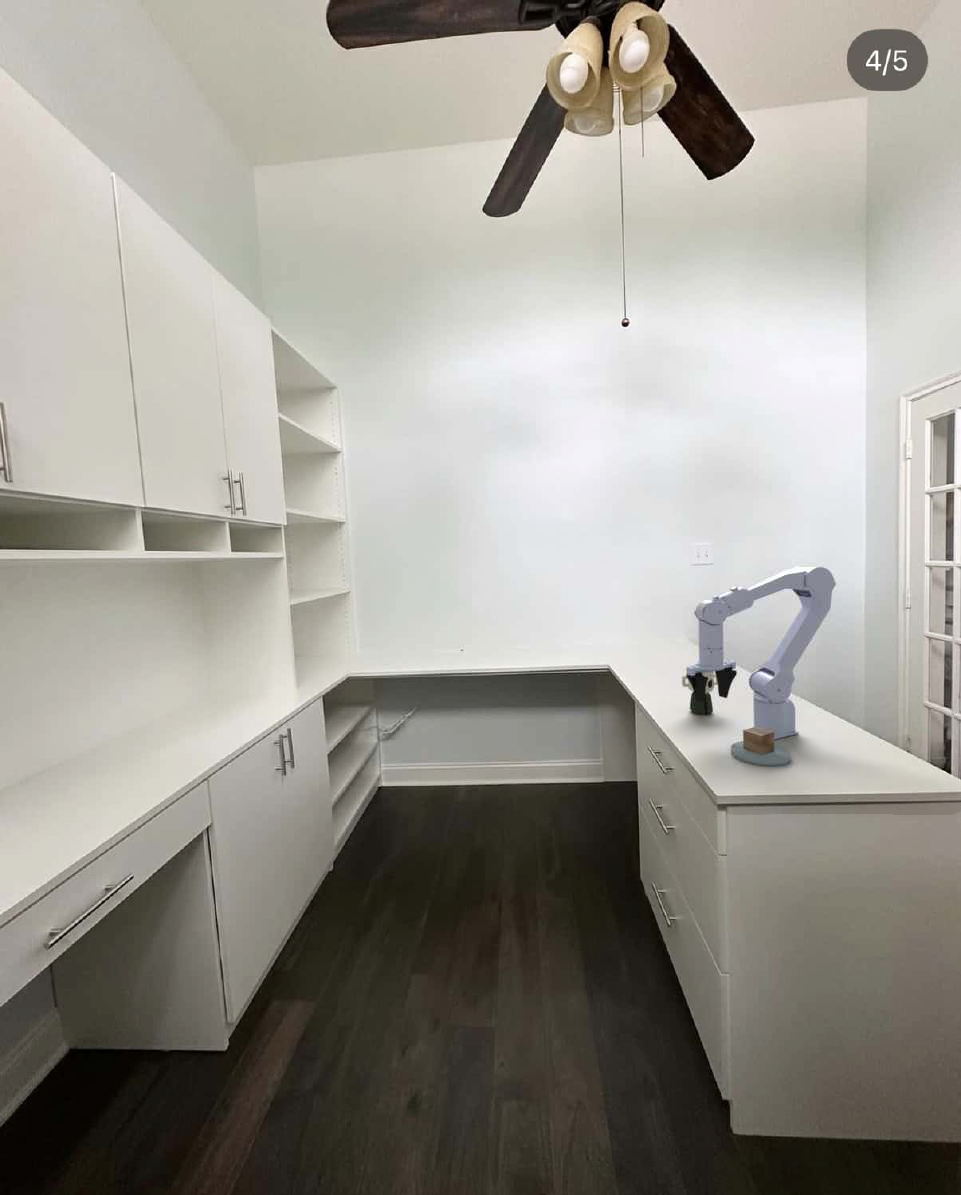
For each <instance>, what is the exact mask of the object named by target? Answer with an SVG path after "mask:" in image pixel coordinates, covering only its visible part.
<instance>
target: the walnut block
mask: <svg viewBox="0 0 961 1195" xmlns="http://www.w3.org/2000/svg"><path fill="white" fill-rule="evenodd" d="M752 727H753V728H751V727H748V728H749V729H746V728H745V729H743V730H742V733H743V734H742V736H743V738H742V741H743V749H745V750H748V751H751V752H754V753H756V754H759V755H764V754H767V753H770V752H773V751H774V744H775V739H774V732H772V731H769V730H766V729H763V728H760V727H754V726H752Z"/></svg>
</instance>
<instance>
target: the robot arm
mask: <svg viewBox="0 0 961 1195" xmlns="http://www.w3.org/2000/svg"><path fill="white" fill-rule="evenodd" d="M836 585H837V582H836V580H835V578H834V575H833V574H832V572H831V571H830V570H829V569H827V568H826V567H823V566H822V567H821V566H816V567H808V566H807V567H805V566H795V567H793V568H791V569H787V570H783V571H782V572H780V573H778V574H776V575H774V576H772V577H770V578H767V579H765V580H763V581H762V582H758V583H757V584H755V585H752V586H751V587H748V589H747V588H745V587H742V586H739V587H737V586H733V587H731V588H730V591H728V592H725V593H723V594H721V595H714V596H712V600H708V599H707V600H706V599H705V600H703V601H700V602H699V603H698V605H697V606H696V607H695V610H694V612H693V613H694V616H695V617H696V619H697V620H698V661H697V662H696V663H695V664H693V665H689V666H686V667H685V668H686V672H685V673H686V675H685V676H686V677H687V678H688V679H687V681H688V680H689V681H690V683H691V685H692V687H693V690H694V693H695V697H696V700H697V701H699V702H705V690H706V684H707V681H708V679H709V678H708V677H705V676H703V675H702V673H707V672H713V671H714V674H716V677H717V682H718V685H717V690H718V691H717V693H718V697H721V698H723V699H726V698H728V696H729V692H730V688H731V686H732V683H733V682H734V679H735V678H736V677H737V673H738V672H737V670H735V669H736V668H737V667H736V666H737V665H736V664H737V663H736V662H737V661H735V660H731V659H730V660H724V630H723V629H724V623H725V621H726V620H727V618H729V617H731V616H734V615H737V614H738V613H741V612H743V611H746V610H748V609H751V608H752V607H753V605H754V602H755V601H757V600H759V599H763V598H765V597H767V596H770V595H773V594H775V593H778V592H781V591H784V590H787V589H788V590H792V591H793V593H794V594H795V595H796V596H797V597H798V599H799V601H800V604H801V606H802V607H801V608H800V609H799V612H798V614H797V615H796V617H795V618H794V619H793V622H792V623H791V625H790V626H789V628H788V630H787V631H786V634H785V635H784V637H783V639H782V640H781V641H780V643H779V645H778V646H777V648H776V650H775V652H774V653H772V656H771V657H770V659H769V660H767V661H765V662H763V663H761V665H760V666H759V668H758V669H756V670H755V671H753V672H752V673H751V674H750V676H749V678H748V684H749V687H750V689H751V690H752V692H753V726H751V727H747V728H745V729H749V728H753V727H760V728H763V729H766V730H769V731H772V732H774V740H777V739H781V738H786V737H790V736H794V735H799V731H797V730H796V706H795V704H794V702H793V701H792V700H791V699H790V698H789V697H790V695H791V693H792V687H793V686H792V685H793V684H794V682H795V680H796V679H795V675H794V669H795V667H796V665H797V664H798V662H799V660H800V659H801V657H802V656H803V655H804V653H805V651H806V649H807V647H808V646H809V645H810V643H811V641H812V639H813V638H814V636H816V633H817V631H818V630H819V628H820V626H821V625H822V624H823V622H824V620H825V618H826V617H827V615H828V614H829V612H830V611H831V607H832V596H833V590H834V588H835V587H836ZM716 677H715V678H716Z"/></svg>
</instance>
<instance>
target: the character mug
mask: <svg viewBox="0 0 961 1195" xmlns="http://www.w3.org/2000/svg"><path fill="white" fill-rule="evenodd" d="M702 675H703V676H705V677H708V678H709V679H708V681H707V684H706V690H705V702H699V701H697V700H696V697H695V693H694V690H693V687H692V685H691V683H690V681H689V680H688V678H687V677H686V675H683V676H682V677H681V681H682V684H681V686H682V687H684V688H688V690H689V691H690V692H691V691H692V692H691V694H690V700H689V701H690V702H689V710H690V711H691V712H693V713H696V714H703V715H704V714H705V713H707V714H711V713H713V712H714V708H713V700H712V695H711V692H713V691H714V688H715V686H718V682H717V677H716V674H715V671H713V672H707V673H702ZM686 680H687V683H686Z"/></svg>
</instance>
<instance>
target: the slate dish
mask: <svg viewBox="0 0 961 1195" xmlns="http://www.w3.org/2000/svg"><path fill="white" fill-rule="evenodd" d="M730 753H732V754H731V755H732V756H733V755H734V756H735V757H736V758H735V757H734V756H733V757H734V758H735V759H737V760H739V759H740V760H739V761H741V760H742V761H741V762H743V761H744V763H747V764H750V763H751V765H754V764H755V765H756V766H761V767H781V766H786V765H788V764H790V762H791V760H792V759H791V756H792V755H791V752H790V751H789V750H788V749H786V748H784V747H783V746H780V745H777V744H776V743H774V751H773V752H770V753H767V754H764V755H759V754H756V753H754V752H751V751H748V750H745V749H743V740H742V741H741V740H740V741H737V742H735V743H733V744H731V746H730ZM755 765H754V766H755Z"/></svg>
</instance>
